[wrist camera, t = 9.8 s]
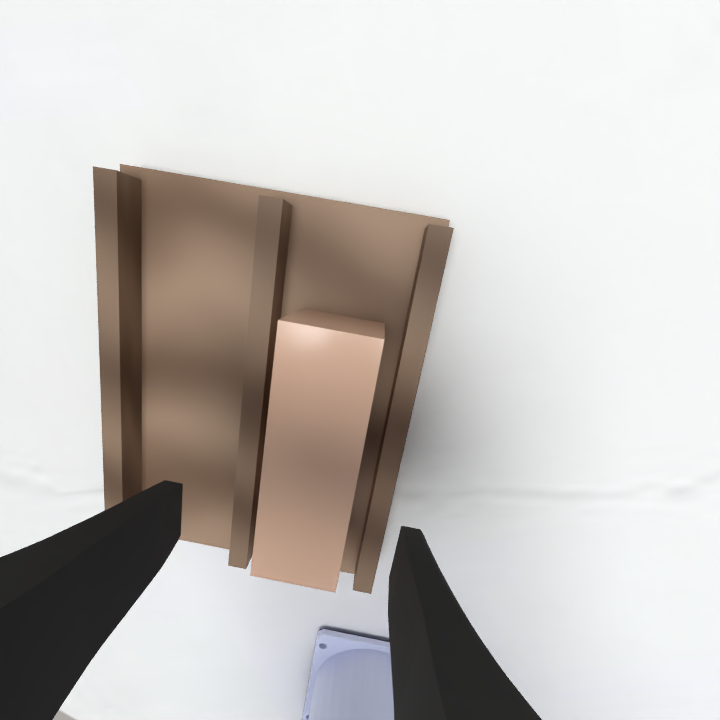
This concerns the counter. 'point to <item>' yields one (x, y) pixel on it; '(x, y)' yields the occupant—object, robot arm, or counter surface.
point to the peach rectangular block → (314, 444)
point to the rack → (246, 338)
